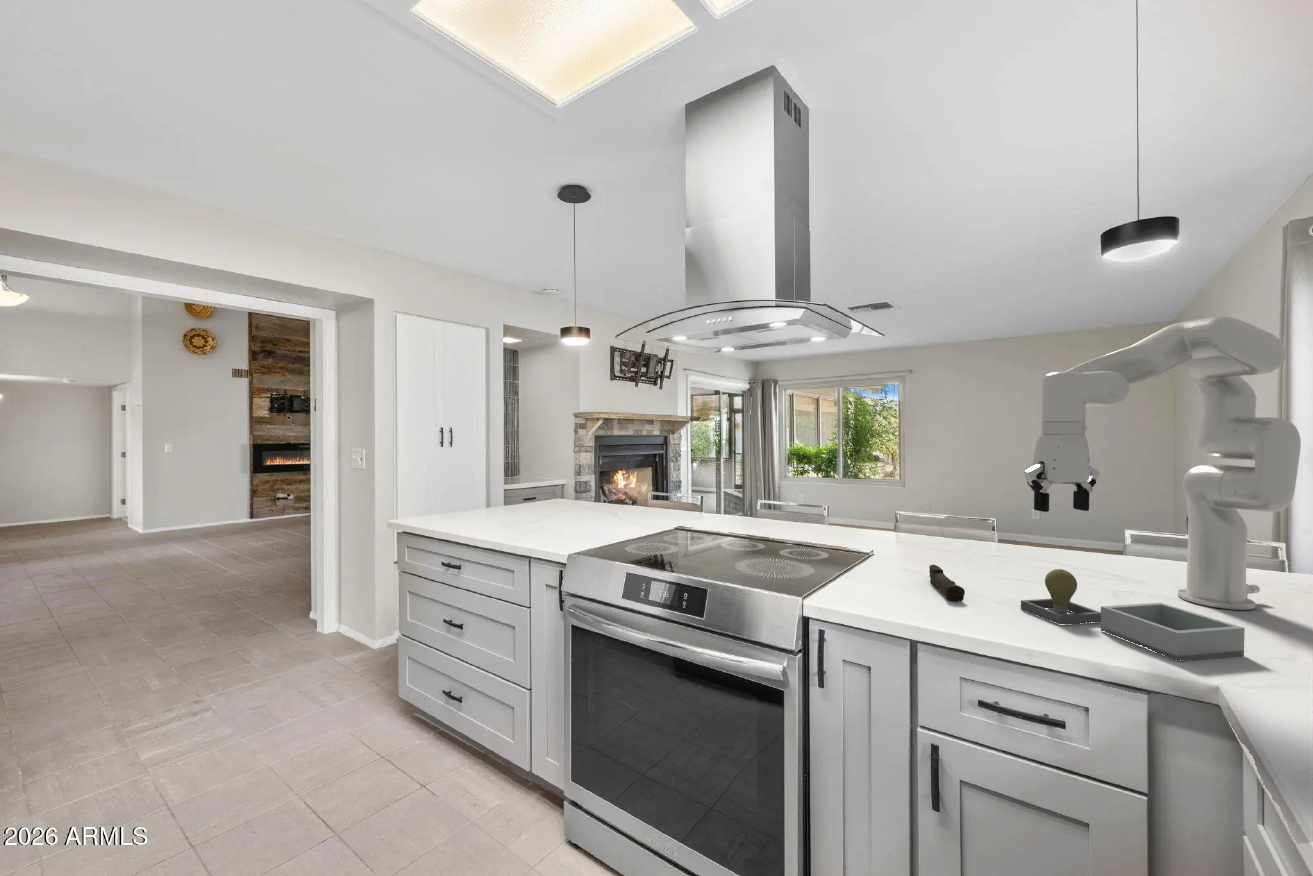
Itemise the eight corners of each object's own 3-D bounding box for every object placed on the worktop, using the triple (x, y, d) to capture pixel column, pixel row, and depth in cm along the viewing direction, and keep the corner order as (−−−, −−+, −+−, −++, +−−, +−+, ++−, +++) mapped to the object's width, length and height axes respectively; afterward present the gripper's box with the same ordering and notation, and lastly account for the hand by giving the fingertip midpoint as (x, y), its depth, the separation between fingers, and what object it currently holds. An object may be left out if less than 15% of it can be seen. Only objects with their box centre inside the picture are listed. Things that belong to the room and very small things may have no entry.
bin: (1159, 627, 111) (1160, 602, 111) (1243, 655, 97) (1244, 628, 97) (1100, 631, 109) (1100, 606, 109) (1177, 661, 95) (1178, 633, 95)
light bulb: (1082, 621, 114) (1083, 573, 114) (1052, 619, 116) (1053, 572, 115) (1068, 612, 120) (1068, 566, 120) (1039, 610, 121) (1040, 565, 121)
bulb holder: (1060, 606, 123) (1060, 597, 123) (1102, 622, 114) (1102, 613, 114) (1020, 609, 122) (1020, 600, 122) (1060, 625, 112) (1060, 616, 112)
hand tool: (965, 603, 127) (965, 583, 126) (946, 602, 128) (946, 582, 127) (942, 581, 145) (943, 563, 145) (926, 580, 146) (926, 562, 146)
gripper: (1081, 430, 122) (1080, 507, 122) (1012, 430, 119) (1011, 508, 119) (1115, 430, 114) (1113, 512, 115) (1042, 430, 112) (1040, 514, 112)
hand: (1061, 510), depth 117 cm, fingers open, 9 cm apart
